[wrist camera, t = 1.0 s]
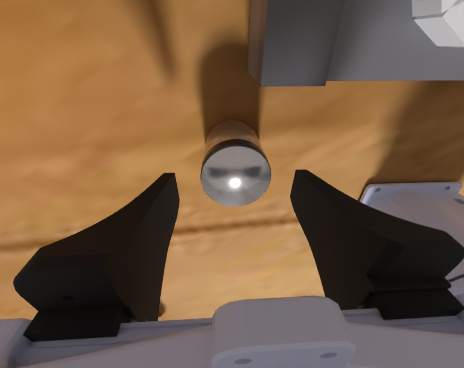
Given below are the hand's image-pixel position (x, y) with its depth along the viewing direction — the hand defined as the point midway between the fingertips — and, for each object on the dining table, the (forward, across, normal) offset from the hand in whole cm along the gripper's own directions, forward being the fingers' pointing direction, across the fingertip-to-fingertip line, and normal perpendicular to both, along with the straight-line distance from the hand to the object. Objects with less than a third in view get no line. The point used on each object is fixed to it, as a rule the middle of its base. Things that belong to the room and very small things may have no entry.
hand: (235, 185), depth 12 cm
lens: (+6, 0, 0) cm, 6 cm away
